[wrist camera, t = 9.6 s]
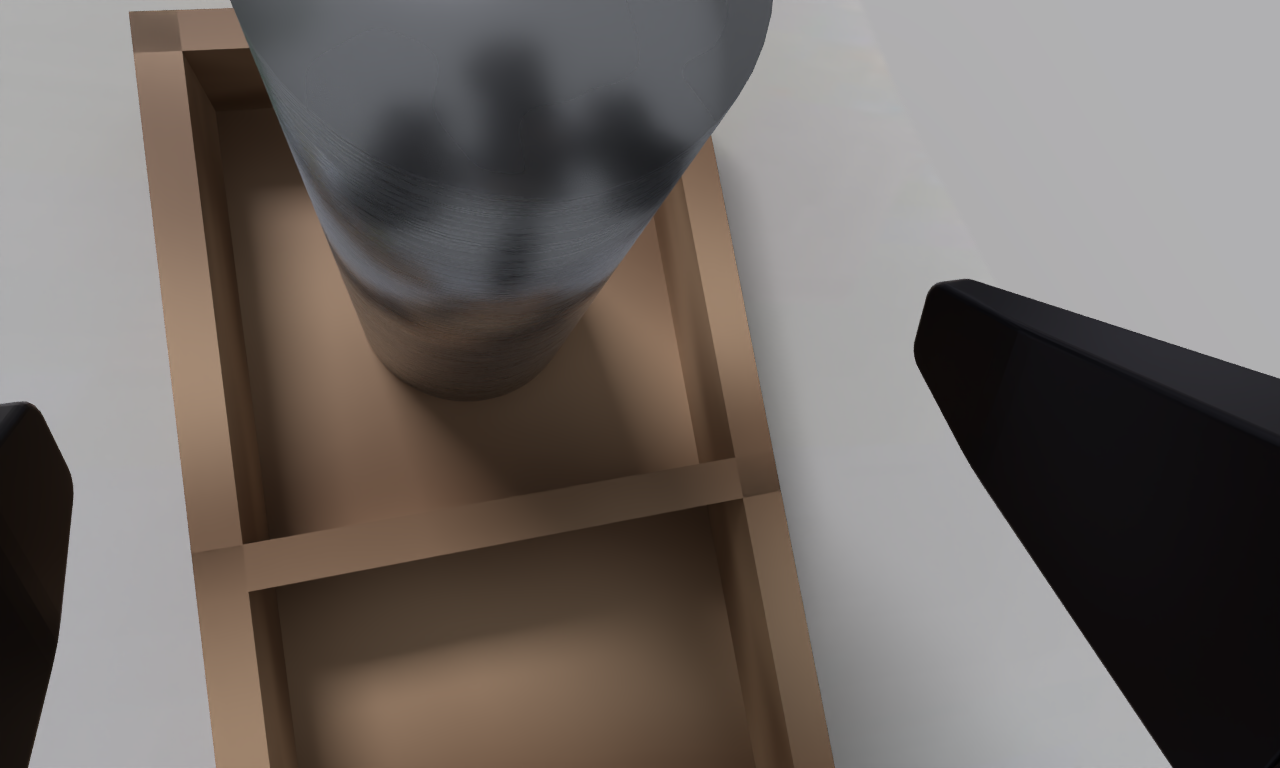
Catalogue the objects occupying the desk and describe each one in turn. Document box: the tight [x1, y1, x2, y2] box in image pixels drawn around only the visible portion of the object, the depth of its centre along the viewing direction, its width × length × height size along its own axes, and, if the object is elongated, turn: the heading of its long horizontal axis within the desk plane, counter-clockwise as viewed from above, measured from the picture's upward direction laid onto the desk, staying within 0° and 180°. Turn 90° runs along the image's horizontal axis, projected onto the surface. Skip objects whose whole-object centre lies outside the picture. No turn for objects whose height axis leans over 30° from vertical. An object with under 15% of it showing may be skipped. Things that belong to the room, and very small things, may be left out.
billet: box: [230, 0, 773, 401], centre depth 13 cm, size 4×4×12 cm
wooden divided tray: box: [129, 8, 835, 768], centre depth 17 cm, size 20×11×3 cm, turn 10°
